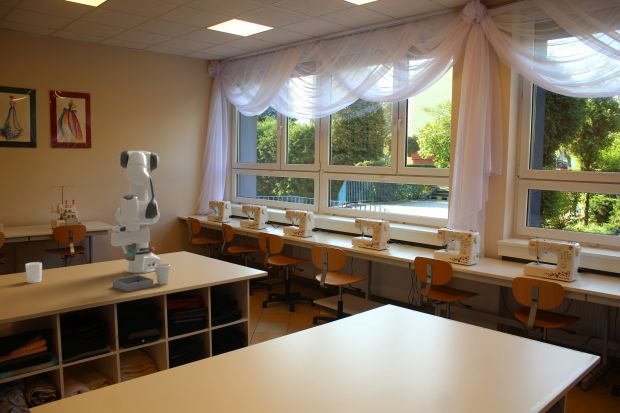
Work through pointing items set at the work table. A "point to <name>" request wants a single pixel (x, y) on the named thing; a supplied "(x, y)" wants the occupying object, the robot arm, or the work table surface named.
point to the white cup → (34, 272)
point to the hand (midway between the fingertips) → (131, 253)
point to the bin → (132, 283)
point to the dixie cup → (162, 273)
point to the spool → (131, 252)
